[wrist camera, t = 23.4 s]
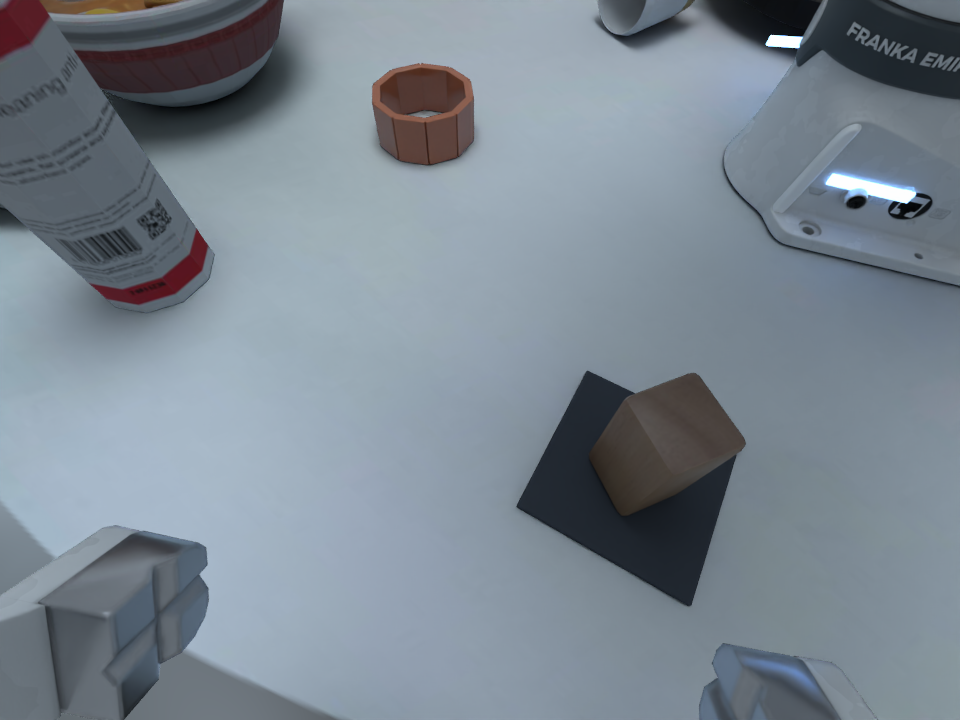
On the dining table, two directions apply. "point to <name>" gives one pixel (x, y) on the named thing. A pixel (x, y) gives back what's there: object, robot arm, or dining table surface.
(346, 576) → the dining table surface
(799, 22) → the disc
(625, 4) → the pendant light
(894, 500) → the dining table surface
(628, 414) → the wooden block
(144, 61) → the bowl
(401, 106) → the holder
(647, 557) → the mat
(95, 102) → the spray bottle
